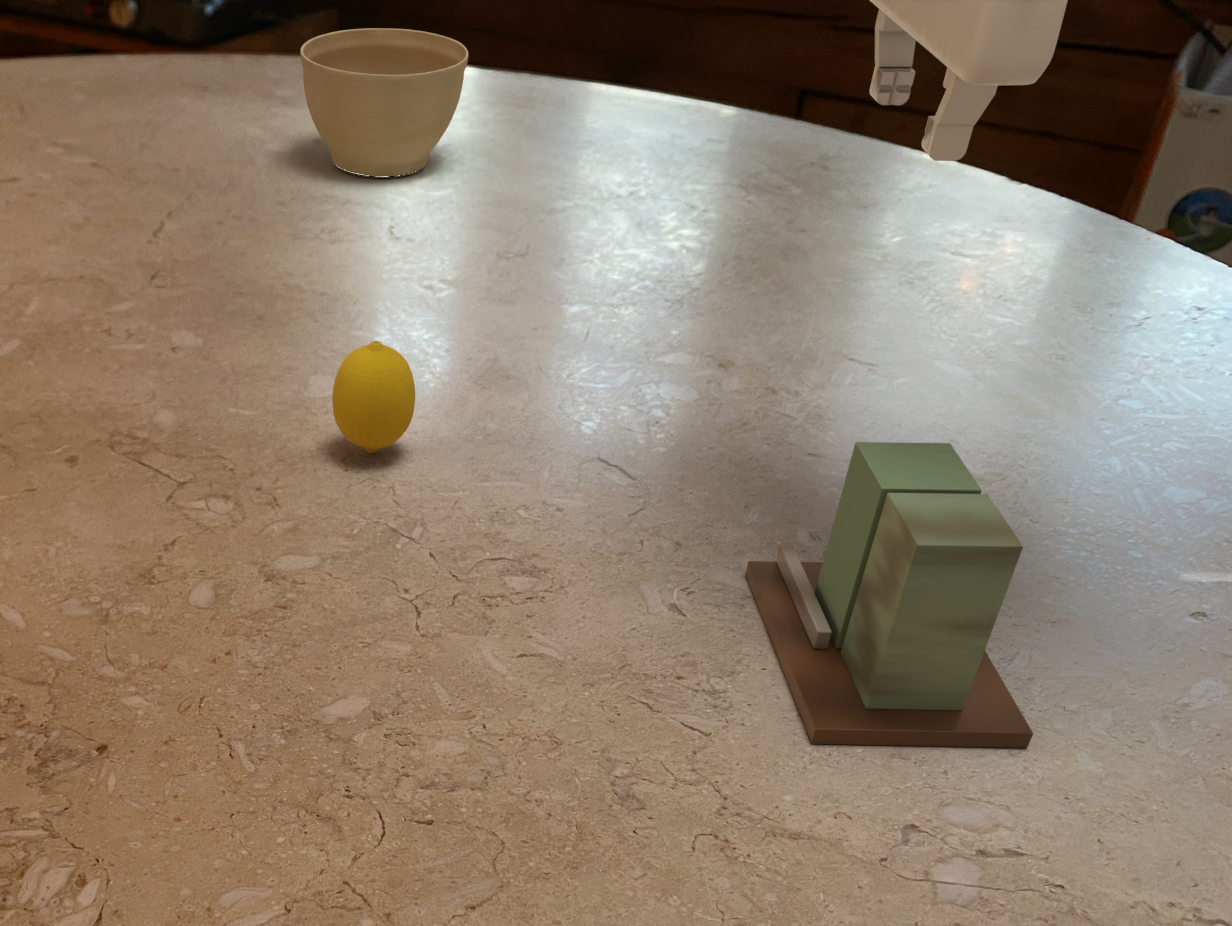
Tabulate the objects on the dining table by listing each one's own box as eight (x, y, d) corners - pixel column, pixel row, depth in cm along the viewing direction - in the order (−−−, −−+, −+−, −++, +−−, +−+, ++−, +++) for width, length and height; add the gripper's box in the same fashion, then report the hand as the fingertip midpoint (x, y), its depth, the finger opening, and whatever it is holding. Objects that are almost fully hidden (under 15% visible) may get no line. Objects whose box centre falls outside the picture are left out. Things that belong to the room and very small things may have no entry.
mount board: (744, 574, 88) (783, 407, 81) (930, 577, 87) (985, 410, 80) (811, 744, 75) (864, 563, 68) (1027, 748, 75) (1102, 567, 68)
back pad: (812, 597, 84) (855, 441, 78) (900, 599, 84) (950, 442, 78) (835, 648, 80) (882, 488, 74) (927, 650, 80) (982, 489, 74)
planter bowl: (279, 183, 143) (279, 64, 136) (324, 133, 155) (326, 23, 148) (441, 199, 139) (449, 78, 132) (473, 147, 151) (483, 34, 144)
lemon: (391, 427, 103) (396, 319, 98) (425, 463, 99) (433, 352, 94) (318, 441, 101) (320, 332, 96) (350, 478, 97) (354, 366, 92)
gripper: (1154, -140, 61) (1046, 195, 69) (986, -204, 77) (915, 75, 85) (1000, -139, 61) (911, 194, 70) (864, -203, 77) (806, 74, 85)
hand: (912, 128), depth 78 cm, fingers open, 8 cm apart
